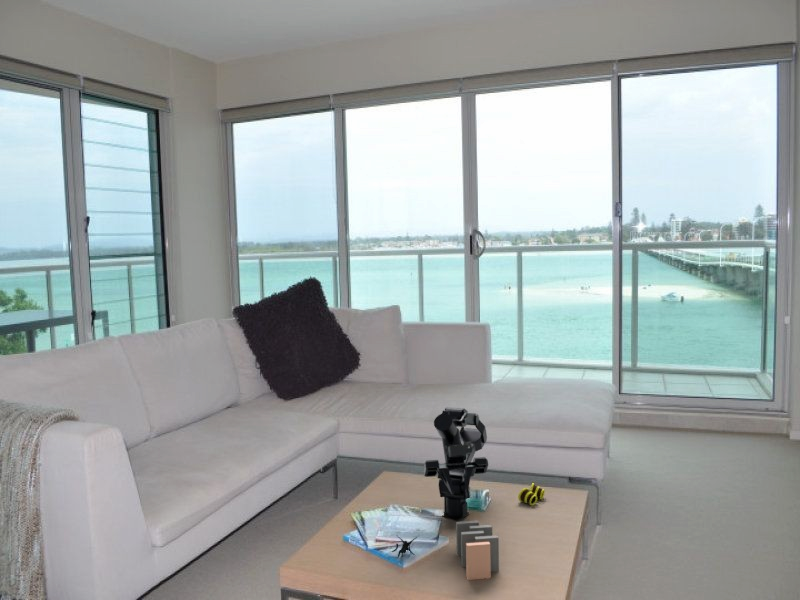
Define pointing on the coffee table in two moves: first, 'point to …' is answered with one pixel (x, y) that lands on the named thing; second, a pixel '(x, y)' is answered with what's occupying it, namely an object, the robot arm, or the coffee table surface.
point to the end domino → (478, 560)
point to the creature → (404, 547)
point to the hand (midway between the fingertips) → (460, 494)
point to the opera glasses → (531, 494)
